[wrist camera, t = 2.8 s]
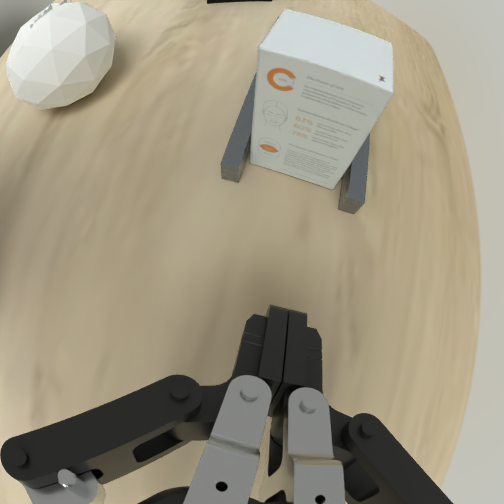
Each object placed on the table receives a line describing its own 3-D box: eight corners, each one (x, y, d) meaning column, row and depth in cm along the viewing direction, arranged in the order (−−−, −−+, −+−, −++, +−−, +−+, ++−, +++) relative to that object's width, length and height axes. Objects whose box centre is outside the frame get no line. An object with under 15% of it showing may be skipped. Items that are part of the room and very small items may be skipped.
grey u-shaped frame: (221, 178, 26) (220, 163, 23) (267, 57, 30) (269, 42, 28) (353, 214, 25) (364, 202, 23) (363, 84, 30) (370, 70, 28)
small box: (344, 140, 27) (395, 43, 15) (333, 192, 26) (396, 94, 13) (267, 114, 28) (284, 5, 15) (247, 163, 26) (256, 47, 13)
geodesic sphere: (59, 23, 25) (-2, 2, 12) (143, 4, 25) (96, -40, 13) (45, 114, 31) (-23, 119, 18) (128, 104, 31) (66, 97, 18)
